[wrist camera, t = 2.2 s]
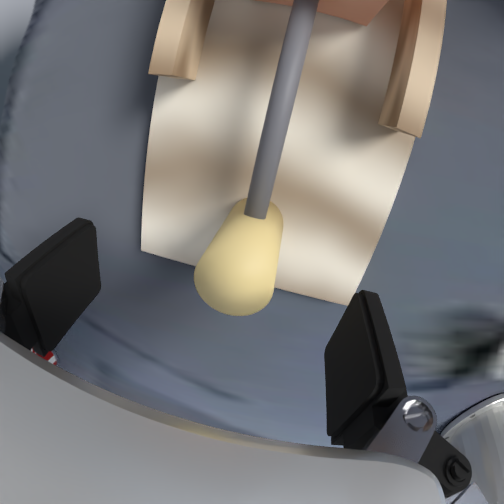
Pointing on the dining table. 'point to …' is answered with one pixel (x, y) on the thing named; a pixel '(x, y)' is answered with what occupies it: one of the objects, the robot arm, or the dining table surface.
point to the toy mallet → (266, 177)
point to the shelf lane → (298, 134)
